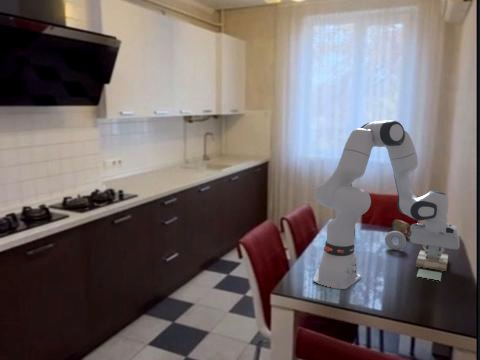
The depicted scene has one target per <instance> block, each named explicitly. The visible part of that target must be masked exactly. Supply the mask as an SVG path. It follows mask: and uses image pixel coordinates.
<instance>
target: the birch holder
mask: <svg viewBox="0 0 480 360" xmlns="http://www.w3.org/2000/svg"><path fill="white" fill-rule="evenodd" d="M448 260H449V253H448V254H447V253H442V256H441V257H440V256H438V260H434V259H428V254H425V250H424V249H423V250H421V249H420V251H419V253H418V256H417V258H416V263H415V264H416V266H415V267H416V268H420V267H423V268H422V269H426V268H430V269H429V270H431V269H437V270H442V271H441V272H443V271H446V272H447V268H448V263H449V262H448ZM437 270H436V271H437Z"/></svg>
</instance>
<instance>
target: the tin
mask: <svg viewBox="0 0 480 360" xmlns="http://www.w3.org/2000/svg"><path fill="white" fill-rule="evenodd" d="M410 227H411V225H410V223H408V222H406V221H403V220H401V219H394V220H393V221H392V223H391V229H392V231H399V232H401V233H402V234H403V235H404V236H405V238H410V237H411V233H412V232H411V231H410Z"/></svg>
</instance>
